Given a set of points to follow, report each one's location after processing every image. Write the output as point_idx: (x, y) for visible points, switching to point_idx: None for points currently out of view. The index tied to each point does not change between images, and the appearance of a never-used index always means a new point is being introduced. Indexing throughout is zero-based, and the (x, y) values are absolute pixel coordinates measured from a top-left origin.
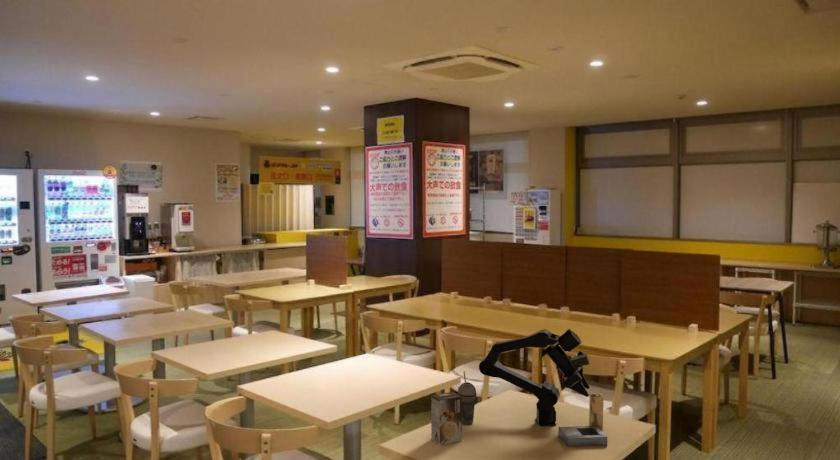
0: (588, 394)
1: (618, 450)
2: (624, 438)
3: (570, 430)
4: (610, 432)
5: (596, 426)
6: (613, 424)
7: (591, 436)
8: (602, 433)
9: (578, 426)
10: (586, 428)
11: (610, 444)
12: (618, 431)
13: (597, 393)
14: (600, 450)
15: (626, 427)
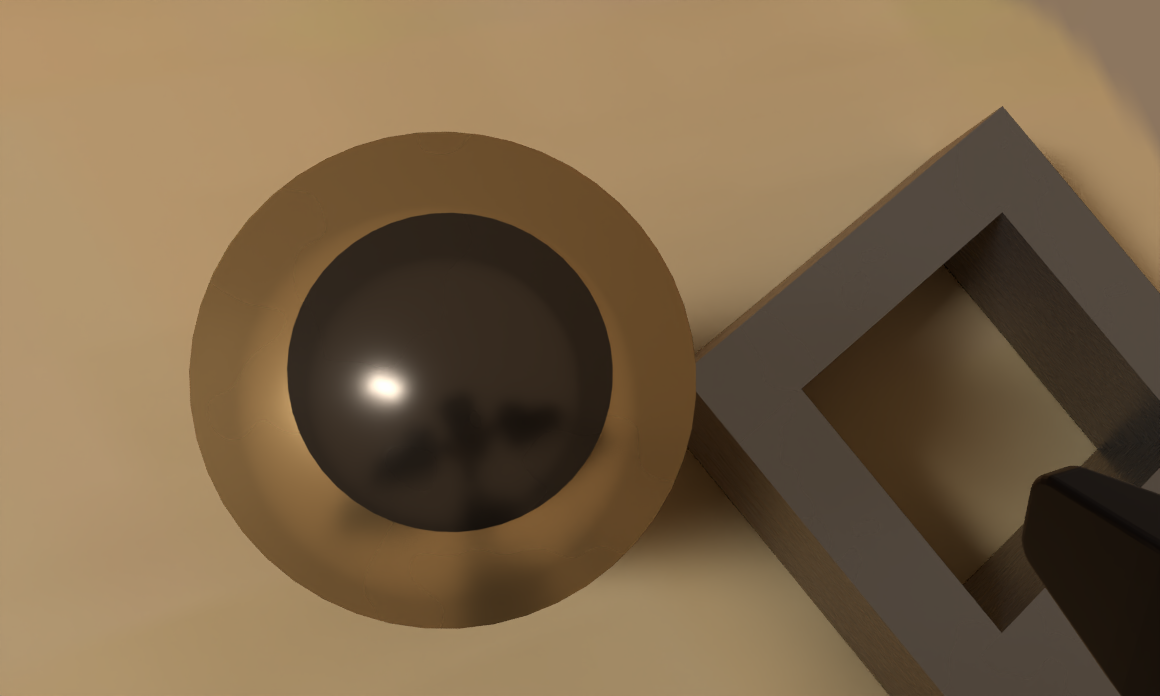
0: (1112, 477)
1: (991, 5)
2: (569, 3)
3: None
4: None
5: (711, 358)
6: (59, 259)
7: (1140, 309)
8: (934, 197)
9: (898, 628)
10: (875, 484)
11: (881, 126)
12: (344, 125)
13: (217, 400)
14: (1127, 192)
15: (89, 48)
